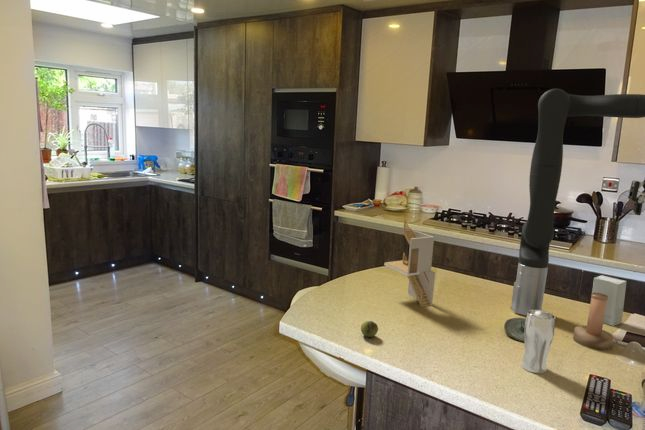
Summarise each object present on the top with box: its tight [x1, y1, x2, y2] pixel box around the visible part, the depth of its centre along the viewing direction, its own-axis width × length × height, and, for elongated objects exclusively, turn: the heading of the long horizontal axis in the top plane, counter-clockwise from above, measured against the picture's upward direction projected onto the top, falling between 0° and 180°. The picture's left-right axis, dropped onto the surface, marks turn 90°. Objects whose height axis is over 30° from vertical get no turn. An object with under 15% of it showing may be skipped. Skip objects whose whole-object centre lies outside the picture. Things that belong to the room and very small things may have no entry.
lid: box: [503, 317, 526, 343], centre depth 140 cm, size 11×10×5 cm
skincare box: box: [591, 274, 628, 327], centre depth 154 cm, size 8×6×15 cm
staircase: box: [384, 219, 436, 308], centre depth 163 cm, size 10×16×29 cm, turn 29°
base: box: [572, 325, 614, 351], centre depth 138 cm, size 10×10×3 cm
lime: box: [360, 320, 379, 338], centre depth 134 cm, size 4×5×5 cm
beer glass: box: [520, 309, 556, 374], centre depth 119 cm, size 7×7×15 cm
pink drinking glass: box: [586, 292, 608, 336], centre depth 137 cm, size 4×4×12 cm
